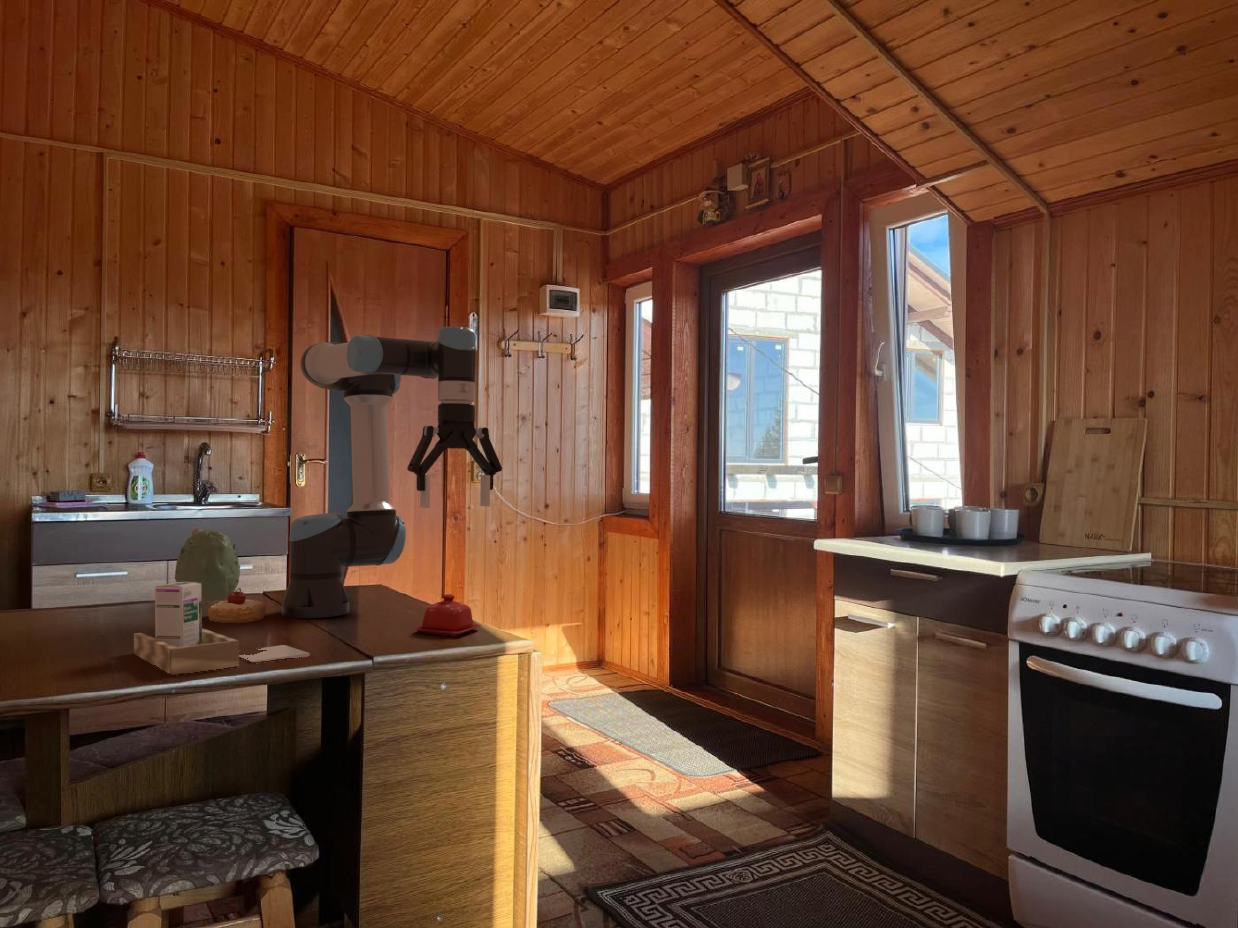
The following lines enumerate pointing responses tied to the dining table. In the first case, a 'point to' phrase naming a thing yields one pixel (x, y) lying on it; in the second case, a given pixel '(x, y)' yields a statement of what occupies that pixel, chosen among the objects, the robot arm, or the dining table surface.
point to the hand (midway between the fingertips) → (455, 507)
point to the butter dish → (447, 618)
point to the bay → (189, 653)
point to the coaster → (275, 654)
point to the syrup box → (178, 614)
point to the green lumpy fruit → (209, 564)
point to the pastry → (237, 609)
